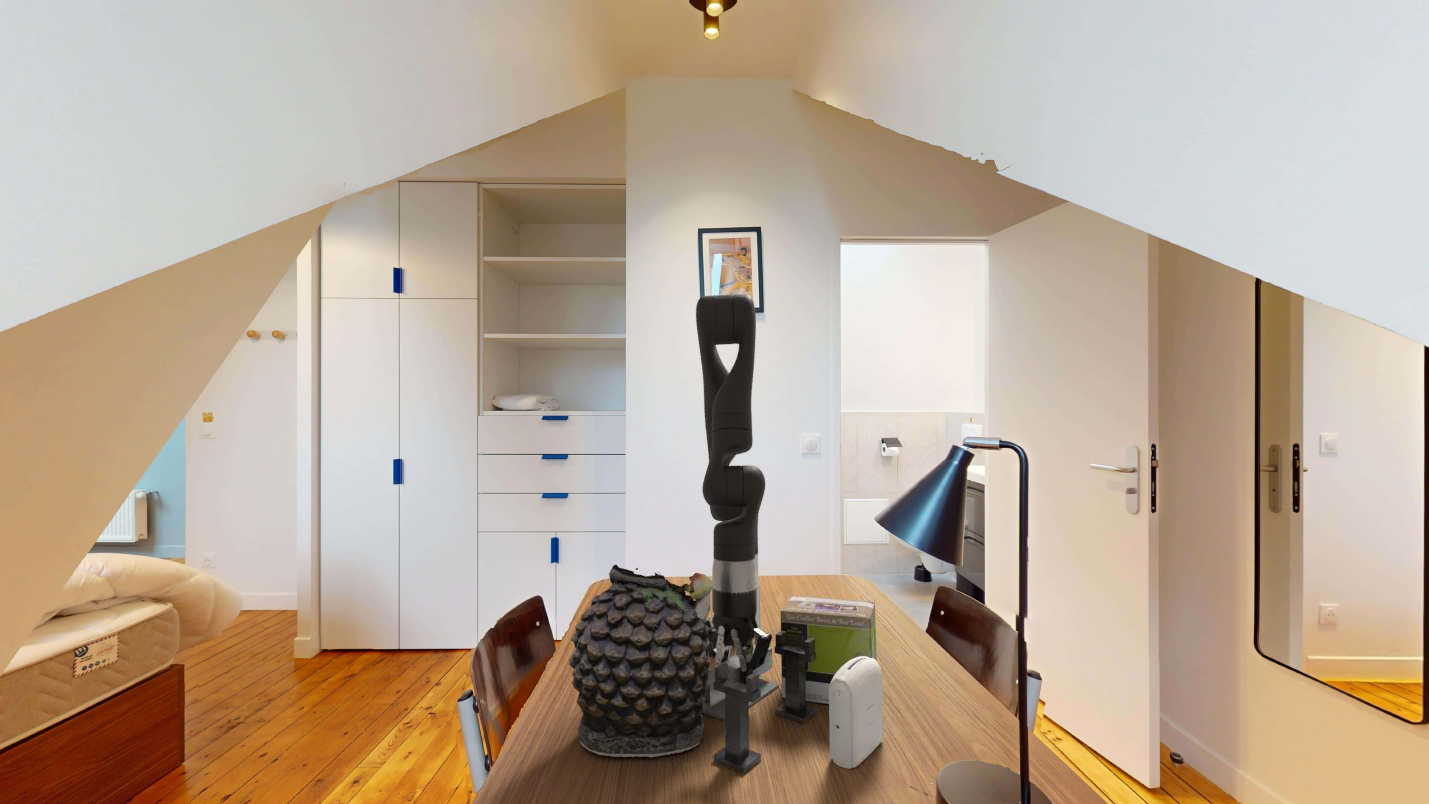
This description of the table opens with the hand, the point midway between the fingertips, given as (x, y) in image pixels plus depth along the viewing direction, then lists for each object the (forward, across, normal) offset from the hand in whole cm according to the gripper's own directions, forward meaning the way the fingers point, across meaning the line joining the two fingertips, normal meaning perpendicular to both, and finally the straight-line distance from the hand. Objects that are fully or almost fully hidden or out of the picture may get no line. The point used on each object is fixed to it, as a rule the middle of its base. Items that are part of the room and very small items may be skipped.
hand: (734, 687), depth 98 cm
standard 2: (+1, -11, -1) cm, 11 cm away
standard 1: (+1, -11, +15) cm, 19 cm away
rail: (-1, 0, 0) cm, 1 cm away
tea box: (+2, -12, -11) cm, 16 cm away
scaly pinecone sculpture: (+2, +3, +19) cm, 19 cm away
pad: (+1, 0, 0) cm, 1 cm away
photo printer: (+2, -23, +3) cm, 23 cm away
